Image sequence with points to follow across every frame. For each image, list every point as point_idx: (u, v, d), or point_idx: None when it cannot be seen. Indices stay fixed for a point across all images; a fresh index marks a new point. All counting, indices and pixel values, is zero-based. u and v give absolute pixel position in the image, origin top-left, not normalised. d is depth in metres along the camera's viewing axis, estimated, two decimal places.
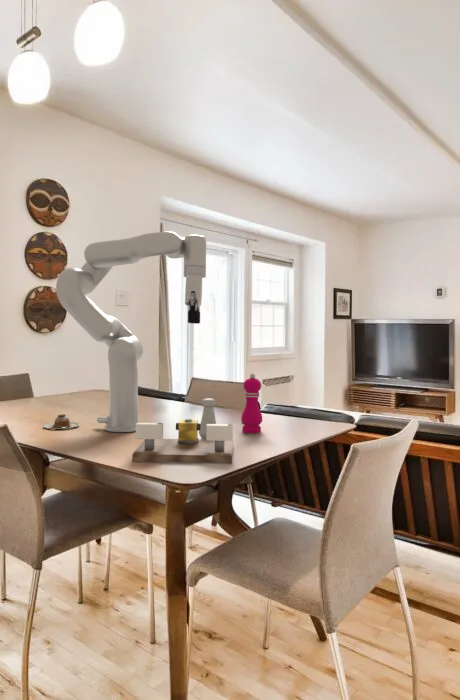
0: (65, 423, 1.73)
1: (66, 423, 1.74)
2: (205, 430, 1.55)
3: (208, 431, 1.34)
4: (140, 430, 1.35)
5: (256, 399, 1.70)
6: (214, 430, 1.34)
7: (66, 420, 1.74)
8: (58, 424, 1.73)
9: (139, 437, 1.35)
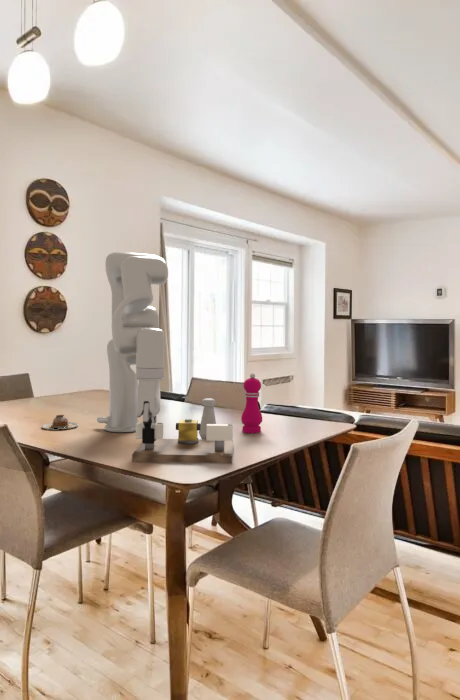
0: (63, 423, 1.73)
1: (64, 423, 1.73)
2: (205, 430, 1.55)
3: (208, 431, 1.34)
4: (140, 430, 1.35)
5: (256, 399, 1.70)
6: (214, 430, 1.34)
7: (64, 420, 1.73)
8: (56, 424, 1.72)
9: (139, 437, 1.35)
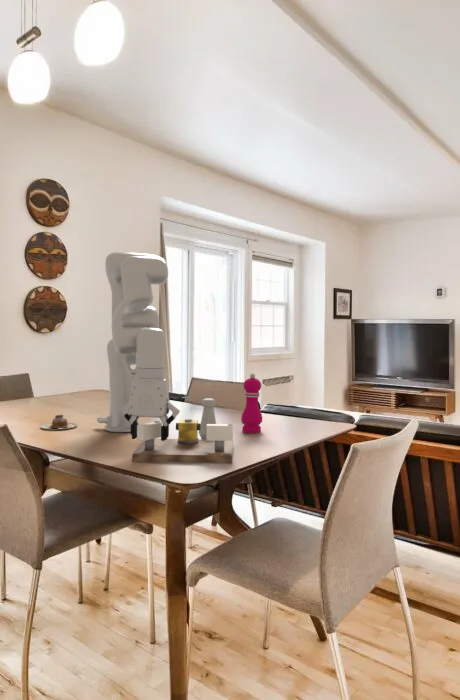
0: (63, 423, 1.73)
1: (64, 423, 1.73)
2: (205, 430, 1.55)
3: (208, 431, 1.34)
4: (147, 432, 1.33)
5: (256, 399, 1.70)
6: (214, 430, 1.34)
7: (64, 420, 1.73)
8: (56, 424, 1.72)
9: (146, 438, 1.33)
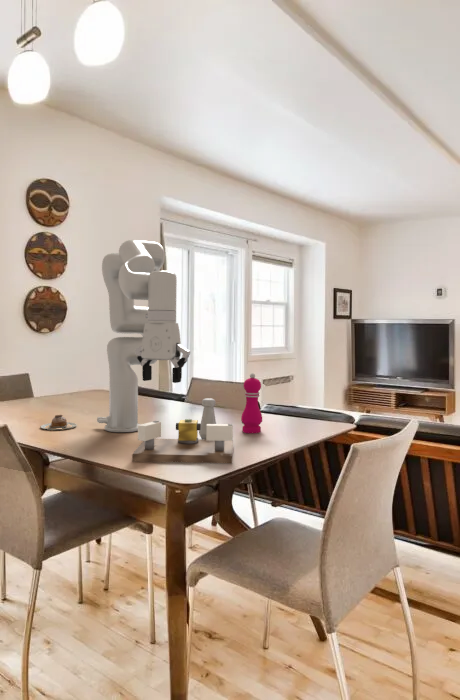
0: (62, 423, 1.72)
1: (63, 423, 1.73)
2: (205, 430, 1.55)
3: (208, 431, 1.34)
4: (148, 432, 1.33)
5: (256, 399, 1.70)
6: (214, 430, 1.34)
7: (63, 420, 1.73)
8: (55, 424, 1.72)
9: (147, 438, 1.33)
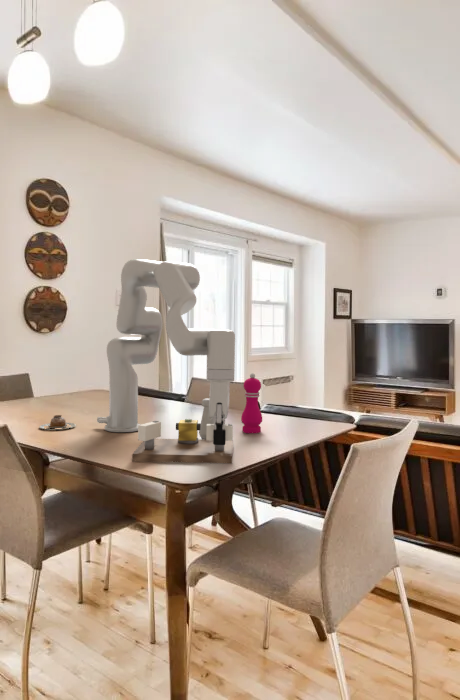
0: (61, 424, 1.72)
1: (62, 424, 1.72)
2: (205, 430, 1.55)
3: (208, 431, 1.34)
4: (148, 432, 1.33)
5: (256, 399, 1.70)
6: None
7: (62, 421, 1.73)
8: (54, 425, 1.71)
9: (147, 438, 1.33)
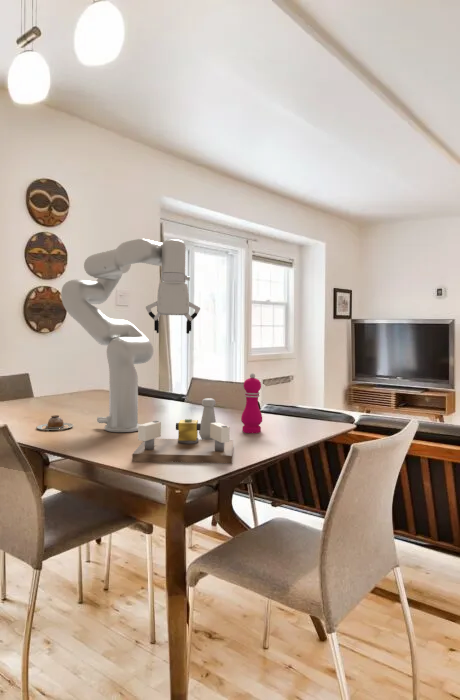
0: (59, 424, 1.71)
1: (60, 424, 1.72)
2: (205, 430, 1.55)
3: (211, 429, 1.38)
4: (148, 432, 1.33)
5: (256, 399, 1.70)
6: (213, 429, 1.36)
7: (60, 421, 1.72)
8: (52, 425, 1.71)
9: (147, 438, 1.33)
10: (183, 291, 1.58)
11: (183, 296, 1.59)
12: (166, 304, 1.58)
